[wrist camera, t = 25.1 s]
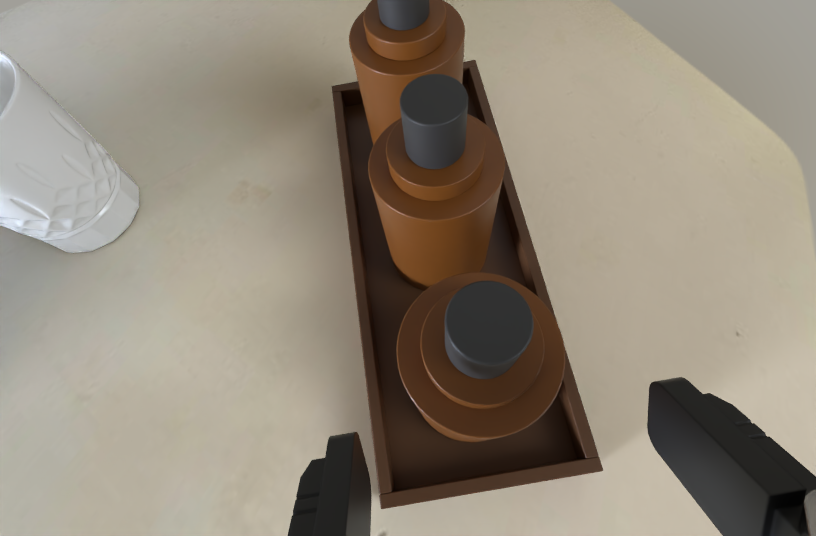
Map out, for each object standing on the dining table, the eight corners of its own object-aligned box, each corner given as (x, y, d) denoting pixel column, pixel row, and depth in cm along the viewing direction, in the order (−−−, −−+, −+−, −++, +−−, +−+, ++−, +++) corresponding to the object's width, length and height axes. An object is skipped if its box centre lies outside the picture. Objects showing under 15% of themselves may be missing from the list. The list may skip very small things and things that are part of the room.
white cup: (151, 243, 28) (10, 144, 19) (33, 276, 28) (-167, 191, 19) (148, 152, 31) (26, 29, 22) (42, 180, 31) (-126, 68, 22)
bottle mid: (492, 212, 26) (525, 44, 15) (480, 300, 24) (509, 176, 13) (401, 201, 27) (371, 34, 16) (381, 285, 25) (333, 157, 14)
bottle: (496, 315, 24) (539, 201, 13) (542, 418, 22) (644, 387, 11) (398, 350, 24) (357, 264, 13) (435, 459, 21) (425, 470, 10)
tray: (589, 468, 21) (603, 470, 19) (386, 503, 21) (380, 509, 19) (473, 83, 32) (475, 59, 30) (338, 108, 32) (331, 85, 30)
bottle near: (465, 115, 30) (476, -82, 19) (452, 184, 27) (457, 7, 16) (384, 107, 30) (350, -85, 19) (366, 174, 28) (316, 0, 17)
